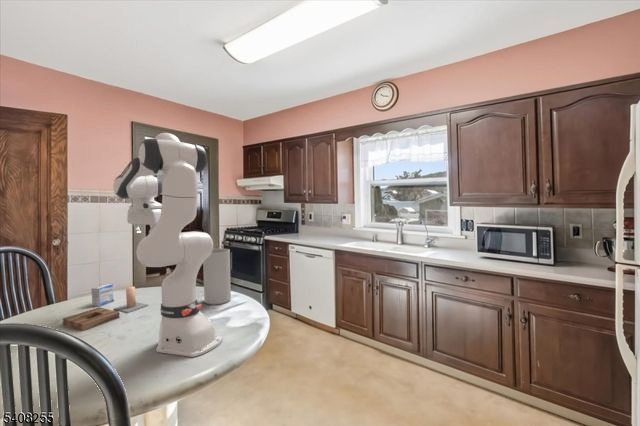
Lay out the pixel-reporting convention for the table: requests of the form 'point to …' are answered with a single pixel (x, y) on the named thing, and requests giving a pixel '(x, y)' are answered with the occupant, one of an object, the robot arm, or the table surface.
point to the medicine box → (102, 295)
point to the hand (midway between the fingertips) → (144, 233)
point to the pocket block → (90, 318)
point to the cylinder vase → (217, 277)
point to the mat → (127, 310)
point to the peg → (130, 297)
